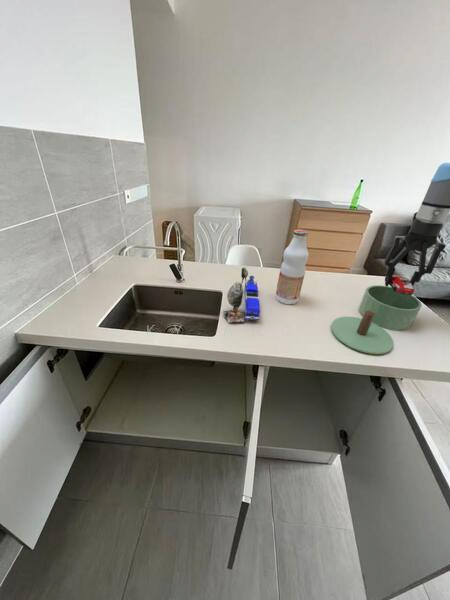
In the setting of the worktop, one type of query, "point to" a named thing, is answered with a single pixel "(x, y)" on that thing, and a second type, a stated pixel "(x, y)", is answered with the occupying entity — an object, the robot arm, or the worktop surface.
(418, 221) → the robot arm
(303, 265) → the fruit juice
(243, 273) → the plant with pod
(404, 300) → the tin
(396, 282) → the race car
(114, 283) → the worktop surface
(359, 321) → the tin lid
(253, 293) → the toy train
